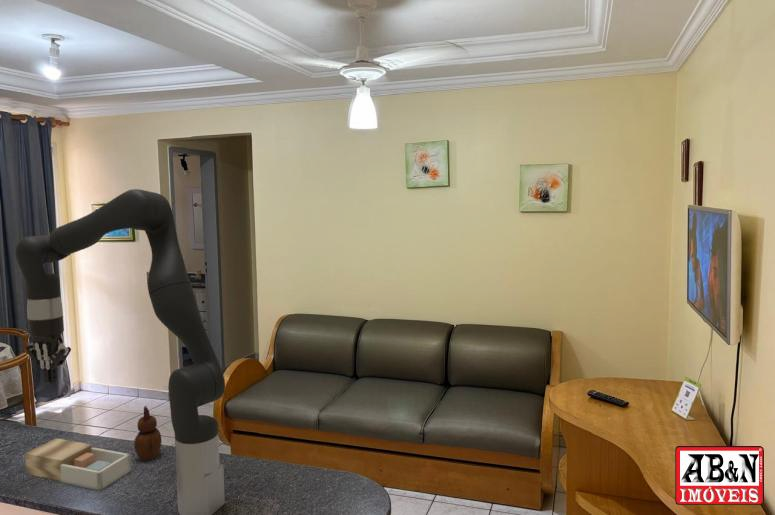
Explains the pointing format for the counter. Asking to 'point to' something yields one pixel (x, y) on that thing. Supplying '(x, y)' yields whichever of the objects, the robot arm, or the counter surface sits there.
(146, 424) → the wooden figurine
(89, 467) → the slate tile
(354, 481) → the counter surface
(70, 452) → the wooden block
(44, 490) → the counter surface
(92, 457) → the terracotta tile
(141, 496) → the counter surface
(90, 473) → the tray
